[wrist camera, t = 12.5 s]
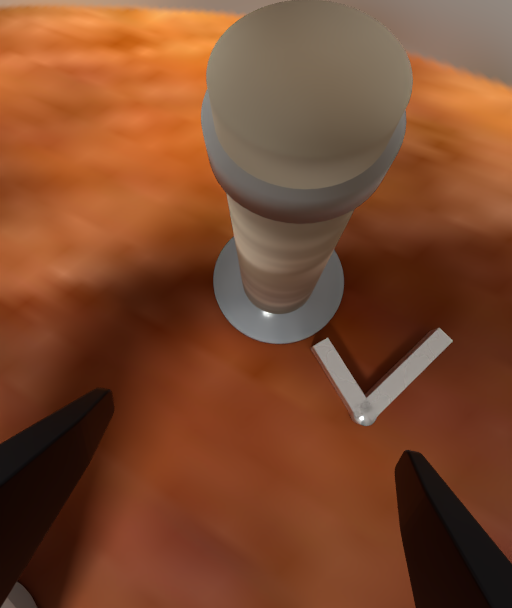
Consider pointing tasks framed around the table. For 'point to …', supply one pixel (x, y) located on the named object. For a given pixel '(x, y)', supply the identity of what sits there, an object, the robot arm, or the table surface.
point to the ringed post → (301, 135)
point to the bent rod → (389, 386)
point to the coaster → (268, 324)
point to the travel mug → (19, 598)
